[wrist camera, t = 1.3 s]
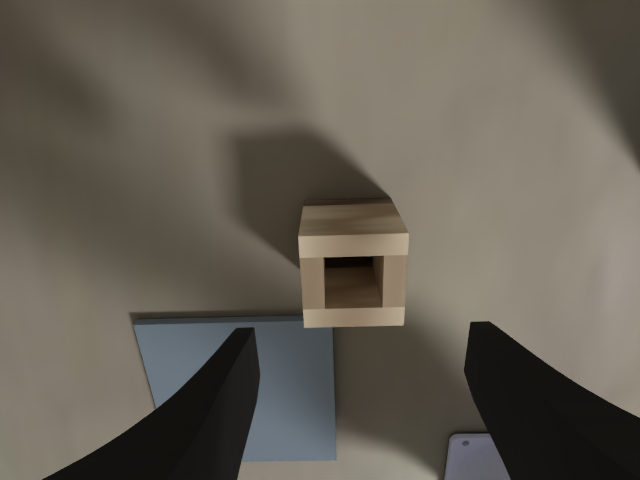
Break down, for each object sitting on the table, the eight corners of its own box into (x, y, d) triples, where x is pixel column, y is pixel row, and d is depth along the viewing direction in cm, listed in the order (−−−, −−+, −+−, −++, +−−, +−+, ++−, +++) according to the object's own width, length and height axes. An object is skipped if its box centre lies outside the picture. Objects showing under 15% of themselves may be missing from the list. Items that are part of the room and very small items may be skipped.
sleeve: (390, 197, 21) (408, 233, 16) (387, 273, 22) (403, 325, 18) (304, 200, 21) (298, 236, 16) (308, 276, 23) (304, 327, 18)
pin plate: (332, 314, 24) (332, 347, 21) (336, 452, 28) (337, 495, 26) (137, 319, 24) (112, 352, 21) (174, 455, 29) (157, 497, 26)
